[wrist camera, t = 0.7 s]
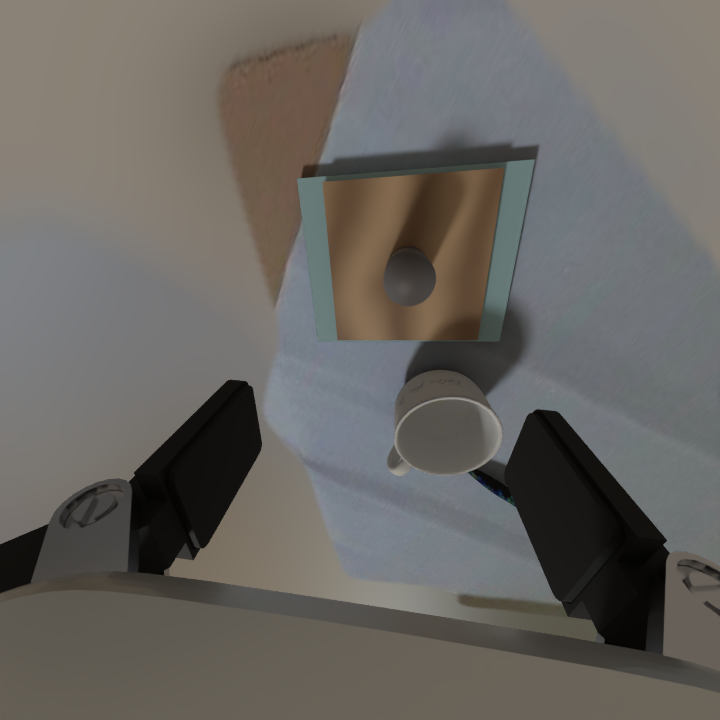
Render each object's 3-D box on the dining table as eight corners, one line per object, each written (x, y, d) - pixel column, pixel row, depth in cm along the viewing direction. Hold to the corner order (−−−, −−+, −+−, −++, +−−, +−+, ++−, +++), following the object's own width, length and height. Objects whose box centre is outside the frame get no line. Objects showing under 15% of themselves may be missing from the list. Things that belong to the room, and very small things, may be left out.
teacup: (451, 341, 31) (466, 377, 24) (499, 405, 34) (525, 453, 27) (358, 400, 37) (349, 444, 29) (407, 451, 40) (409, 501, 32)
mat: (529, 161, 23) (535, 159, 22) (496, 338, 30) (499, 341, 29) (300, 179, 26) (297, 178, 25) (320, 338, 33) (318, 341, 32)
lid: (501, 169, 23) (537, 152, 17) (475, 337, 30) (495, 367, 24) (324, 182, 25) (300, 171, 19) (338, 337, 32) (325, 365, 26)
